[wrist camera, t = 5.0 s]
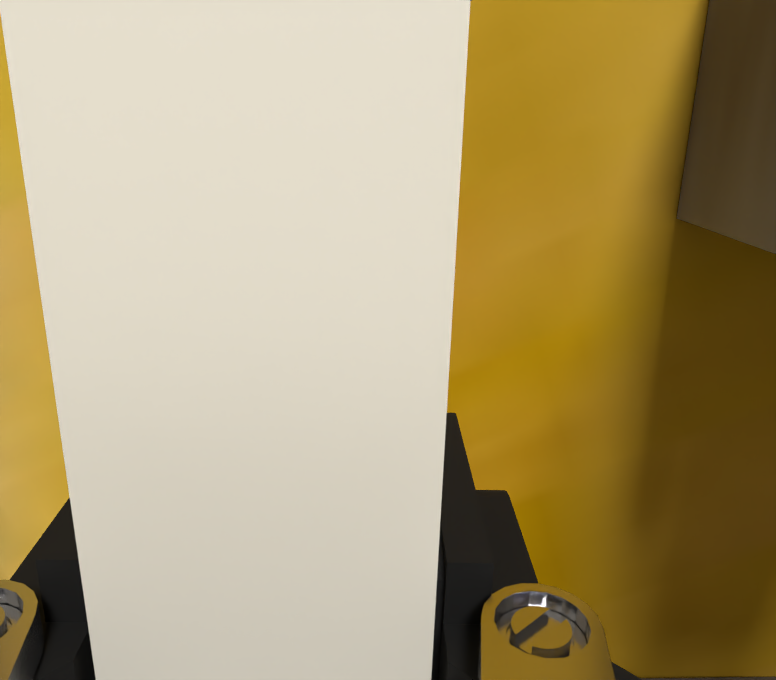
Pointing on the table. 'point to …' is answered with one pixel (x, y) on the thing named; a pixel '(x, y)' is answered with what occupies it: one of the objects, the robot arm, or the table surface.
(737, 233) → the posts
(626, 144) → the table surface
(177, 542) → the rail
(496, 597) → the robot arm
